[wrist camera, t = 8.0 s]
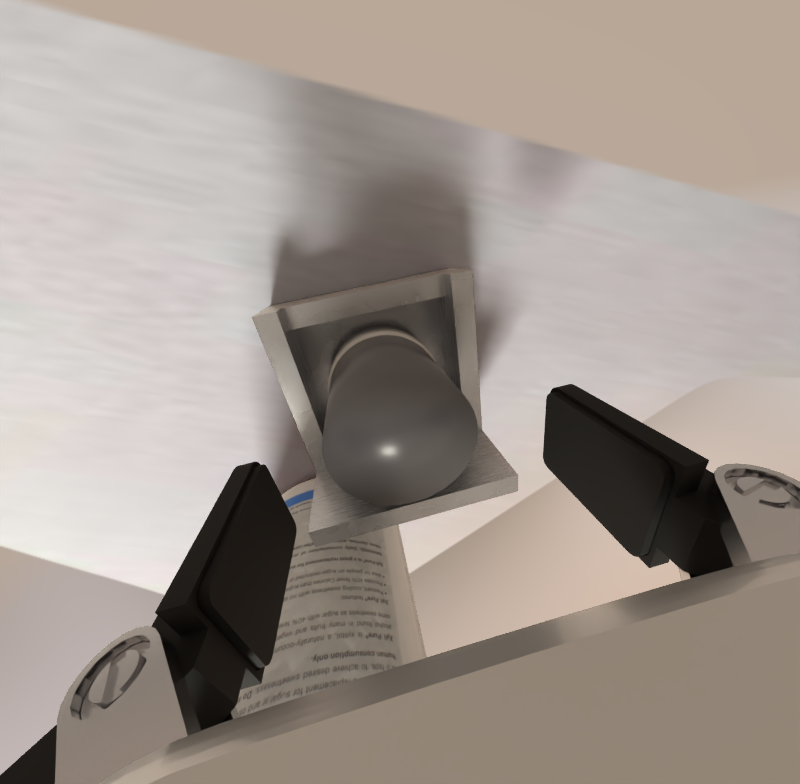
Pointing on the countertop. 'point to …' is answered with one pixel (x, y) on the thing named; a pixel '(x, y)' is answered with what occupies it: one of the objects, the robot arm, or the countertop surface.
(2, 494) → the countertop surface
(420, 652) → the supplement tub
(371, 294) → the open square box
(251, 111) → the countertop surface
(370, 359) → the grey rounded-end cylinder
